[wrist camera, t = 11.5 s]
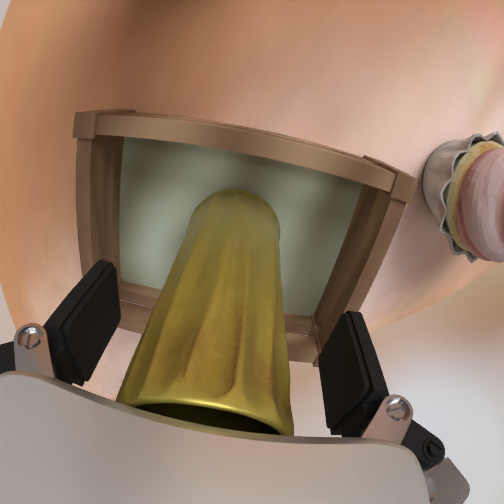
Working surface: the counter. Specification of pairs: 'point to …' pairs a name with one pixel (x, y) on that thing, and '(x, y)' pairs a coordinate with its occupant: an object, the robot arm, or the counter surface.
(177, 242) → the tray
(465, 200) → the cupcake
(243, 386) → the vase
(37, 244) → the counter surface
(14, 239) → the counter surface
